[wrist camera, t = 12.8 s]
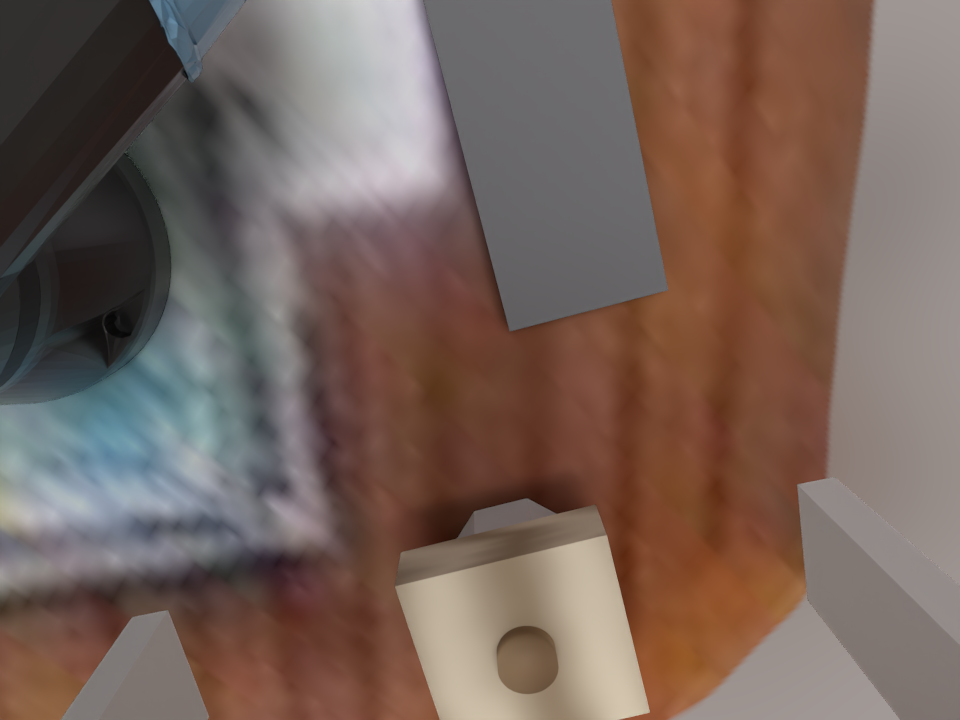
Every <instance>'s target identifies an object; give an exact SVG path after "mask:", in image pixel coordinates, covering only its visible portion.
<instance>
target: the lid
mask: <svg viewBox="0 0 960 720" xmlns="http://www.w3.org/2000/svg"><path fill="white" fill-rule="evenodd" d="M395 589H396V592H397V595H398V598H399V600H400V603H401V606H402V609H403V612H404V615H405V618H406V621H407V624H408V627H409V630H410V633H411V636H412V639H413V642H414V645H415V648H416V651H417V654H418V657H419V660H420V663H421V666H422V668H423V671H424V674H425V677H426V680H427V683H428V686H429V689H430V692H431V695H432V698H433V701H434V704H435V707H436V710H437V713H438V716H439V719H440V720H619V719H624V718H628V717H632V716H637V715H641V714H645V713H650V711H649V707H648V703H647V698H646V694H645V690H644V686H643V682H642V678H641V674H640V670H639V665H638V661H637V657H636V653H635V649H634V645H633V641H632V637H631V633H630V628H629V624H628V620H627V616H626V612H625V608H624V604H623V600H622V596H621V591H620V587H619V583H618V579H617V575H616V571H615V567H614V563H613V558H612V554H611V550H610V546H609V542H608V538H607V534H606V531H605V529H604V526H603V523H602V521H601V518H600V515H599V512H598V510H597V507H596V505H592V506H588V507H583V508H579V509H575V510H571V511H567V512H563V513H559V514H555V515H551V516H547V517H543V518H539V519H535V520H531V521H527V522H522V523H518V524H514V525H510V526H506V527H502V528H498V529H494V530H490V531H486V532H482V533H478V534H474V535H470V536H466V537H461V538H457V539H453V540H449V541H445V542H441V543H437V544H433V545H429V546H425V547H421V548H417V549H413V550H409V551H405V552H401V554H400V560H399V565H398V571H397V577H396V582H395Z"/></svg>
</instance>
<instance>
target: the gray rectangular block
mask: <svg viewBox="0 0 960 720" xmlns="http://www.w3.org/2000/svg"><path fill="white" fill-rule="evenodd" d="M423 1H424V5H425V8H426V12H427V16H428V20H429V24H430V28H431V31H432V35H433V39H434V43H435V47H436V51H437V54H438V58H439V62H440V66H441V70H442V74H443V77H444V81H445V85H446V89H447V93H448V97H449V100H450V104H451V108H452V112H453V116H454V120H455V123H456V127H457V131H458V135H459V139H460V143H461V146H462V150H463V154H464V158H465V162H466V166H467V169H468V173H469V177H470V181H471V185H472V189H473V192H474V196H475V200H476V204H477V208H478V212H479V215H480V219H481V223H482V227H483V231H484V235H485V238H486V242H487V246H488V250H489V254H490V258H491V261H492V265H493V269H494V273H495V277H496V281H497V285H498V288H499V292H500V296H501V300H502V304H503V308H504V311H505V315H506V319H507V323H508V327H509V331H514V330H517V329H521V328H525V327H529V326H533V325H537V324H540V323H544V322H548V321H552V320H556V319H560V318H563V317H567V316H571V315H575V314H579V313H583V312H586V311H590V310H594V309H598V308H602V307H606V306H609V305H613V304H617V303H621V302H625V301H629V300H632V299H636V298H640V297H644V296H648V295H652V294H655V293H659V292H663V291H667V290H668V287H667V282H666V277H665V272H664V267H663V261H662V256H661V251H660V246H659V241H658V236H657V231H656V226H655V221H654V216H653V211H652V206H651V201H650V195H649V190H648V185H647V180H646V175H645V170H644V165H643V160H642V155H641V150H640V145H639V140H638V135H637V129H636V124H635V119H634V114H633V109H632V104H631V99H630V94H629V89H628V84H627V79H626V74H625V69H624V63H623V58H622V53H621V48H620V43H619V38H618V33H617V28H616V23H615V18H614V13H613V8H612V3H611V0H423Z"/></svg>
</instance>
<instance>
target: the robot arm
mask: <svg viewBox="0 0 960 720" xmlns="http://www.w3.org/2000/svg"><path fill="white" fill-rule="evenodd" d="M245 1H246V0H0V405H6V404H30V403H39V402H46V401H50V400H55V399H59V398H62V397H65V396H69V395H72V394H74V393H77V392H79V391H82V390H84V389H86V388H88V387H90V386H92V385H94V384H95V383H97V382H99V381H100V380H102V379H104V378H105V377H107V376H109V375H111V374H112V373H114V372H116V371H117V370H119V369H120V368H121V367H123V366H124V365H125V364H127V363H128V362H129V361H130V360H131V359H132V358H133V357H134V356H135V355H136V354H137V353H138V352H139V351H140V350H141V349H142V348H143V346H144V345H145V344H146V343H147V341H148V340H149V338H150V337H151V335H152V334H153V332H154V330H155V328H156V327H157V324H158V322H159V320H160V318H161V315H162V313H163V310H164V307H165V304H166V300H167V296H168V291H169V284H170V270H171V263H170V249H169V242H168V237H167V232H166V228H165V224H164V221H163V218H162V215H161V212H160V210H159V207H158V205H157V202H156V200H155V198H154V196H153V194H152V192H151V190H150V188H149V187H148V185H147V183H146V181H145V180H144V178H143V177H142V175H141V174H140V172H139V171H138V169H137V168H136V167H135V165H134V164H133V163H132V162H131V160H130V159H129V158H128V157H127V156H126V155H125V153H124V152H125V151H126V150H127V149H128V148H129V146H130V145H131V144H132V143H133V142H134V140H135V139H136V138H137V137H138V136H139V135H140V133H141V132H142V131H143V130H144V129H145V127H146V126H147V125H148V124H149V123H150V122H151V120H152V119H153V118H154V117H155V116H156V114H157V113H158V112H159V111H160V110H161V109H162V107H163V106H164V105H165V104H166V103H167V101H168V100H169V99H170V98H171V97H172V96H173V94H174V93H175V92H176V91H177V90H178V88H179V87H180V86H181V85H182V84H183V83H184V81H185V80H186V79H188V80H189V81H190V82H193V81H194V80H195V79H196V78H197V77H198V76H199V75H200V73H201V71H202V62H201V60H202V58H203V57H204V55H205V54H206V53H207V51H208V50H209V49H210V47H211V46H212V45H213V43H214V42H215V41H216V39H217V38H218V37H219V36H220V34H221V33H222V32H223V30H224V29H225V28H226V26H227V25H228V24H229V22H230V21H231V20H232V18H233V17H234V16H235V15H236V13H237V12H238V11H239V9H240V8H241V7H242V5H243V4H244V3H245ZM797 487H798V498H799V509H800V520H801V531H802V542H803V553H804V565H805V576H806V587H807V598H808V601H809V603H810V604H811V605H812V606H813V608H814V609H815V610H816V612H817V613H818V614H819V616H820V617H821V618H822V619H823V621H824V622H825V623H826V624H827V626H828V627H829V628H830V630H831V631H832V632H833V633H834V635H835V636H836V637H837V639H838V640H839V641H840V643H841V644H842V645H843V646H844V648H845V649H846V650H847V652H848V653H849V654H850V655H851V657H852V658H853V659H854V661H855V662H856V663H857V665H858V666H859V667H860V668H861V670H862V671H863V672H864V674H865V675H866V676H867V677H868V679H869V680H870V681H871V683H872V684H873V685H874V686H875V688H876V689H877V690H878V692H879V693H880V694H881V695H882V697H883V698H884V699H885V701H886V702H887V703H888V705H889V706H890V707H891V708H892V710H893V711H894V712H895V713H896V715H897V716H898V717H899V719H900V720H960V585H959V584H958V583H956V582H955V581H954V580H953V579H952V578H951V577H950V576H948V575H947V574H946V573H945V572H944V571H943V570H941V569H940V568H939V567H938V566H937V565H936V564H935V563H933V562H932V561H931V560H930V559H929V558H927V556H925V555H924V554H923V553H922V552H921V551H920V550H918V549H917V548H916V547H915V546H914V545H913V544H912V543H910V542H909V541H908V540H907V539H906V538H905V537H903V536H902V535H901V534H900V533H899V532H898V531H897V530H895V529H894V528H893V527H892V526H891V525H890V524H888V523H887V522H886V521H885V520H884V519H883V518H882V517H880V516H879V515H878V514H877V513H876V512H875V511H873V510H872V509H871V508H870V507H869V506H868V505H867V504H866V503H864V502H863V501H862V500H861V499H860V498H859V497H857V496H856V495H855V494H854V493H853V492H852V491H851V490H849V489H848V488H847V487H846V486H845V485H844V484H842V483H841V482H840V481H839V480H838V479H837V478H835V477H833V478H828V479H823V480H818V481H813V482H808V483H803V484H798V485H797ZM208 718H209V715H208V713H207V710H206V708H205V705H204V702H203V700H202V697H201V695H200V692H199V690H198V687H197V684H196V682H195V679H194V677H193V674H192V671H191V669H190V666H189V664H188V661H187V658H186V656H185V653H184V651H183V648H182V645H181V643H180V640H179V638H178V635H177V632H176V630H175V627H174V625H173V622H172V619H171V617H170V614H169V612H168V610H166V611H161V612H156V613H151V614H146V615H141V616H136V617H132V618H131V620H130V621H129V622H128V624H127V625H126V627H125V628H124V630H123V631H122V632H121V634H120V635H119V637H118V638H117V640H116V641H115V643H114V644H113V645H112V647H111V648H110V650H109V651H108V653H107V654H106V655H105V657H104V658H103V660H102V661H101V663H100V664H99V665H98V667H97V668H96V670H95V671H94V673H93V674H92V675H91V677H90V678H89V680H88V681H87V683H86V684H85V685H84V687H83V688H82V690H81V691H80V693H79V694H78V695H77V697H76V698H75V700H74V701H73V703H72V704H71V705H70V707H69V708H68V710H67V711H66V713H65V714H64V716H63V717H62V718H61V720H208Z"/></svg>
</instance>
